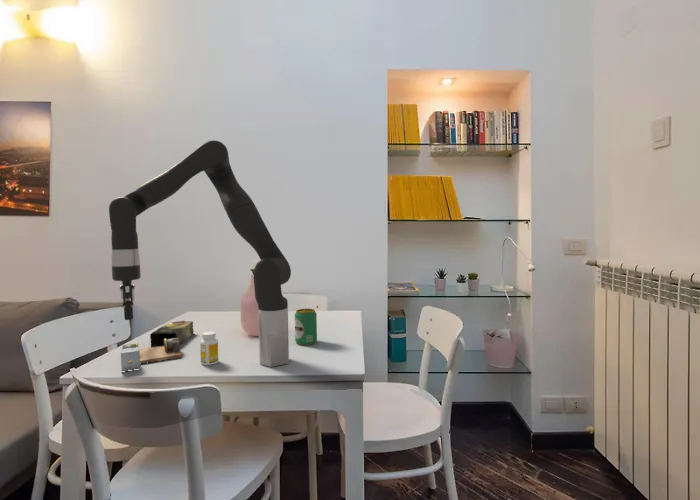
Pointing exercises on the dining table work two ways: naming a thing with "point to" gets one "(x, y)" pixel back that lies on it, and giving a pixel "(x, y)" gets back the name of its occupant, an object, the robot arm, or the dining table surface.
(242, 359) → the dining table surface
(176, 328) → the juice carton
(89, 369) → the dining table surface
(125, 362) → the block
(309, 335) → the beverage can
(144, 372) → the dining table surface
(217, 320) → the dining table surface
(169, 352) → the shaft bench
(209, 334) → the supplement bottle
